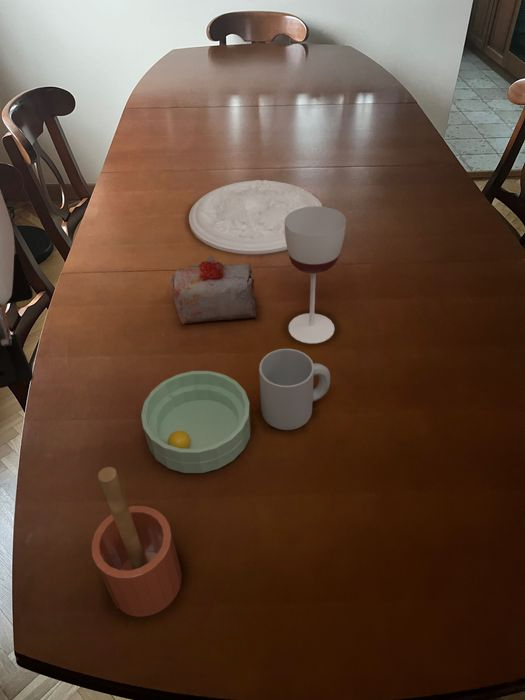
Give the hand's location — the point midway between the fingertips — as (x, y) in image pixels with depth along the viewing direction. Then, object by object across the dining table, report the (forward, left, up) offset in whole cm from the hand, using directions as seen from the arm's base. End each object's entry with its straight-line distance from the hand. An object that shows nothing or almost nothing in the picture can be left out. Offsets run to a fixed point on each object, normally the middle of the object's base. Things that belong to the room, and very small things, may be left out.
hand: (12, 338), depth 45 cm
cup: (+28, +15, -34) cm, 47 cm away
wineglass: (+36, +31, -34) cm, 59 cm away
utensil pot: (+4, -4, -34) cm, 35 cm away
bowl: (+14, +15, -34) cm, 40 cm away
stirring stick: (+4, -4, -34) cm, 34 cm away
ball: (+11, +13, -32) cm, 36 cm away
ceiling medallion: (+37, +68, -34) cm, 85 cm away
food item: (+22, +40, -34) cm, 57 cm away
